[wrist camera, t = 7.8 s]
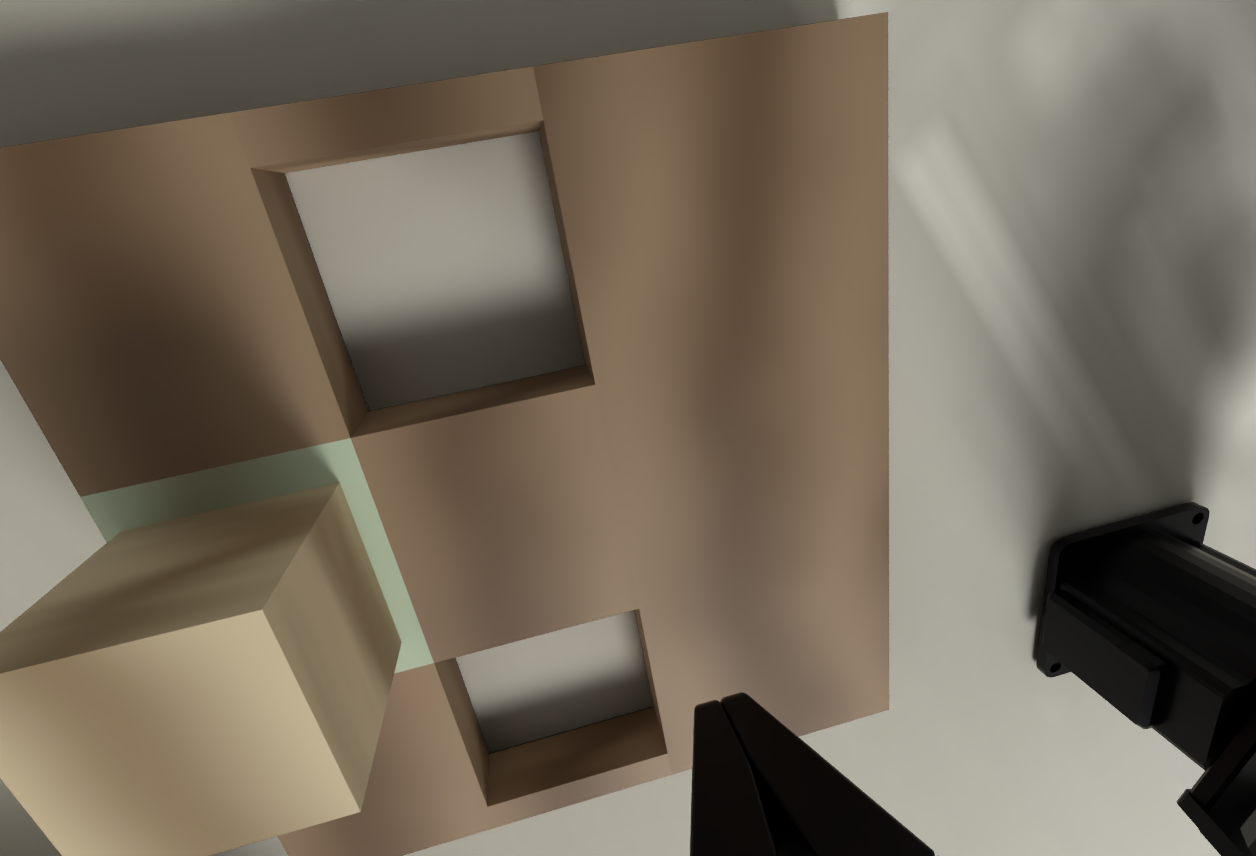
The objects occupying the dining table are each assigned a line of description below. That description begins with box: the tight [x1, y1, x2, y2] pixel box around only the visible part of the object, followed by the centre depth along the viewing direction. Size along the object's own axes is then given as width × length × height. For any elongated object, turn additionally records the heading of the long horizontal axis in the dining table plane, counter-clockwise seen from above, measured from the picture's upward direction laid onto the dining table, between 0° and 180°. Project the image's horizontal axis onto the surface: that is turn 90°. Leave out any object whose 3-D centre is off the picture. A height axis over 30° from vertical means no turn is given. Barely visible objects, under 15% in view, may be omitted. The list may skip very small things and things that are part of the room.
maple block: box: [0, 482, 402, 856], centre depth 13 cm, size 5×5×5 cm
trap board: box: [0, 12, 889, 856], centre depth 17 cm, size 20×21×2 cm
